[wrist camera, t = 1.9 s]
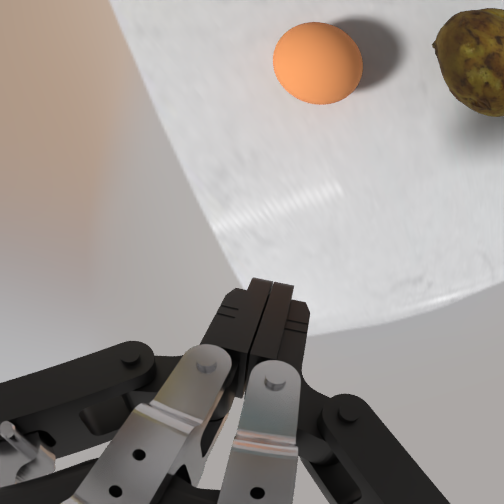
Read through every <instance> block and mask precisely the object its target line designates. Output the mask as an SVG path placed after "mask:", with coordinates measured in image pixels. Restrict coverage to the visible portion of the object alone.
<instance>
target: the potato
mask: <svg viewBox="0 0 504 504" xmlns="http://www.w3.org/2000/svg"><path fill="white" fill-rule="evenodd" d="M432 45H433V48H435V54H436V56H437V58H438V61H439V64H440V68H441V72H442V75H443V77H444V80H445V82H446V84H447V85H448V87H449V90H450V92H451V93H452V94H453V95H454V96H455V97H456V99H458V100H459V101H460V102H462V103H463V104H465V105H466V106H467V107H469V108H471V109H472V110H474V111H476V112H478V113H480V114H484V115H487V116H492V117H499V116H504V10H502V9H495V8H486V9H481V10H470V11H464V12H460V13H457V14H455V15H454V16H452V17H451V18H450V19H449V20H448V21H447V22H446V23H445V24H444V26H443V27H442V28H441V29H440V31H439V33H438V35H437V38H436V40H435V41H434V43H433V44H432Z"/></svg>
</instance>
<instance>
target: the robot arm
mask: <svg viewBox="0 0 504 504" xmlns="http://www.w3.org/2000/svg"><path fill="white" fill-rule="evenodd" d="M293 289H294V286H293V285H288V284H283V283H278V282H274V284H273V281H268V280H263V279H258V278H252V280H251V282H250V285H249V287H248V289H247V290H243V289H239V288H235V289H234V290H232V291H231V292H229V293H228V294H227V295H226V296H225V298H224V300H223V301H222V303H221V306H220V307H219V309H218V311H217V313H216V315H215V317H214V318H213V320H212V322H211V324H210V326H209V328H208V330H207V332H206V334H205V335H204V337H203V339H202V341H201V343H200V345H197V346H194V347H192V348H190V349H189V350H188V351H187V352H186V353H185V354H184V355H182V356H173V357H172V356H154V353H153V351H152V349H151V348H150V347H149V346H148V345H146V344H144V343H142V342H139V341H127V342H124V343H120V344H117V345H115V346H112V347H109V348H107V349H103V350H101V351H98V352H95V353H92V354H89V355H86V356H83V357H80V358H77V359H74V360H71V361H68V362H66V363H63V364H60V365H56V366H53V367H50V368H47V369H44V370H41V371H38V372H35V373H32V374H28V375H26V376H22V377H19V378H16V379H12V380H9V381H6V382H3V383H0V504H292V503H293V502H292V501H293V495H294V487H295V479H296V471H297V462H298V456H300V458H301V461H302V463H303V464H304V466H305V467H306V469H307V470H308V472H309V474H310V475H311V477H312V478H313V479H314V481H315V482H316V484H317V485H318V487H319V489H320V490H321V492H322V493H323V495H324V496H325V498H326V499H327V500H328V502H329V503H330V504H450V503H449V502H448V500H447V499H446V498H445V497H444V496H443V494H442V493H441V492H440V491H439V490H438V488H437V487H436V486H435V485H434V484H433V482H432V481H431V480H430V479H429V478H428V476H427V475H426V474H425V473H424V472H423V471H422V469H421V468H420V467H419V466H418V464H417V463H416V462H415V461H414V460H413V458H411V456H410V455H409V454H408V452H407V451H406V450H405V449H404V448H403V446H402V445H401V444H400V443H399V442H398V440H397V439H396V438H395V437H394V435H393V434H392V433H391V432H390V431H389V429H388V428H387V427H386V426H385V425H384V423H382V421H381V420H380V419H379V417H378V416H377V415H376V414H375V412H374V411H373V410H372V409H371V408H370V406H369V405H368V404H367V403H366V402H365V401H364V400H363V399H361V398H359V397H358V396H355V395H351V394H339V395H336V396H334V397H332V398H329V397H327V396H325V395H323V394H321V393H319V392H317V391H315V390H313V389H312V388H311V387H310V386H309V385H308V384H307V383H306V382H305V380H304V378H303V375H302V371H301V370H302V362H303V356H304V350H305V344H306V337H307V331H308V324H309V317H310V311H309V309H308V307H307V304H306V302H301V301H296V300H291V299H292V294H293ZM244 392H245V397H244V403H243V408H242V412H241V416H240V421H239V425H238V429H237V433H236V436H235V438H234V440H233V444H232V448H231V452H230V456H229V460H228V464H227V468H226V472H225V476H224V479H223V483H222V487H221V490H210V489H200V488H196V487H197V485H198V483H199V481H200V479H201V476H202V474H203V471H204V467H205V463H206V461H207V458H208V456H209V454H210V452H211V450H212V448H213V446H214V444H215V442H216V440H217V438H218V436H219V434H220V432H221V430H222V427H223V426H224V423H225V421H226V419H227V417H228V414H229V410H230V408H231V406H232V403H233V400H234V397H238V398H242V397H243V395H244ZM110 440H112V441H111V442H110V444H109V445H108V446H107V448H106V449H105V451H104V452H103V453H102V455H101V456H100V458H96V459H92V460H88V461H85V462H82V463H80V464H77V465H74V466H71V467H69V468H66V469H63V470H60V471H57V472H54V471H55V459H57V458H60V457H64V456H67V455H70V454H73V453H76V452H79V451H82V450H85V449H88V448H91V447H94V446H97V445H99V444H102V443H105V442H108V441H110ZM144 458H145V459H144ZM53 472H54V473H53ZM47 474H48V475H47Z"/></svg>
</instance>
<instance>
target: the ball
mask: <svg viewBox="0 0 504 504" xmlns="http://www.w3.org/2000/svg"><path fill="white" fill-rule="evenodd" d="M273 66H274V71H275V74H276V76H277V79H278V80H279V82H280V84H281V85H282V86H283V87H284V88H285V89H286V90H287V91H288V92H289V93H290V94H291V95H293V96H294V97H296V98H297V99H300V100H302V101H304V102H307V103H311V104H319V105H320V104H331V103H335V102H338V101H340V100H342V99H344V98H346V97H347V96H348V95H350V94H351V93H352V92H353V91H354V90H355V88H356V87H357V85H358V84H359V82H360V79H361V76H362V72H363V61H362V56H361V53H360V50H359V48H358V47H357V45H356V43H355V42H354V41H353V39H352V38H351V37H350V36H349V35H348V34H346V33H345V32H344V31H342V30H341V29H339V28H337V27H335V26H333V25H330V24H326V23H320V22H309V23H304V24H300V25H298V26H295V27H293V28H292V29H290V30H288V31H287V32H286V33H285V34H284V35H283V36H282V37H281V38H280V40H279V41H278V43H277V45H276V47H275V50H274V55H273Z"/></svg>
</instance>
